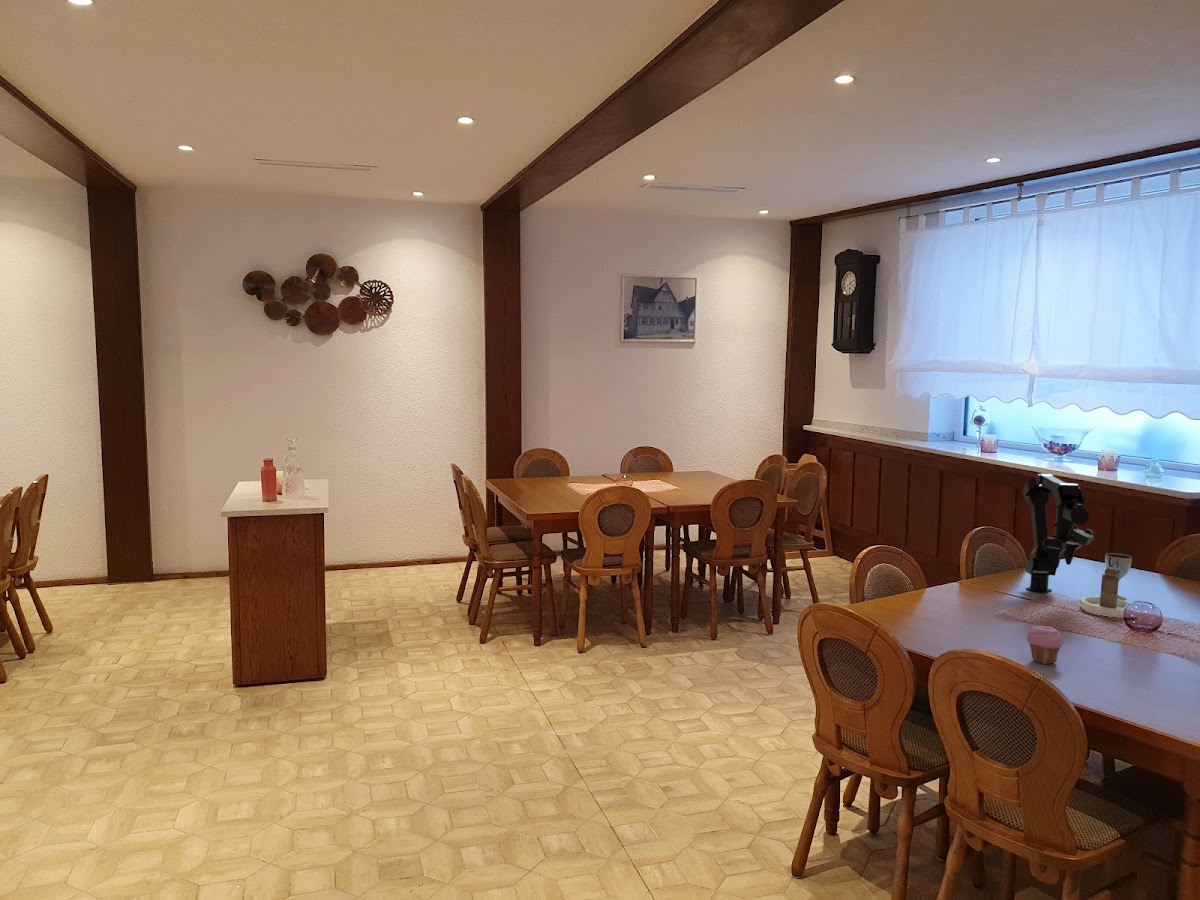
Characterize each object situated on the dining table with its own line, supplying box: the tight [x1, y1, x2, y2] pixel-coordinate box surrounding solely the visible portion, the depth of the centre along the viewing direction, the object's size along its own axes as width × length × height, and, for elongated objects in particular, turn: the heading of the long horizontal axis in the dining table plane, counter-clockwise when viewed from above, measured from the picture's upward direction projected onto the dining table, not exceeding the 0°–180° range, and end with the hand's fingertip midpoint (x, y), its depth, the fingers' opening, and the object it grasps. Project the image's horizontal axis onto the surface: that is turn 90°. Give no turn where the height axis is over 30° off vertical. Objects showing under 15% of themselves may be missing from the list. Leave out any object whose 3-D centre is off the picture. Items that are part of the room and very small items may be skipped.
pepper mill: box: [1099, 567, 1120, 609], centre depth 288 cm, size 5×5×14 cm
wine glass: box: [1104, 552, 1133, 601], centre depth 306 cm, size 8×8×15 cm
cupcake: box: [1026, 625, 1065, 665], centre depth 237 cm, size 9×9×10 cm
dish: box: [1079, 595, 1131, 618], centre depth 289 cm, size 16×16×3 cm
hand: (1062, 566), depth 295 cm, fingers open, 9 cm apart
